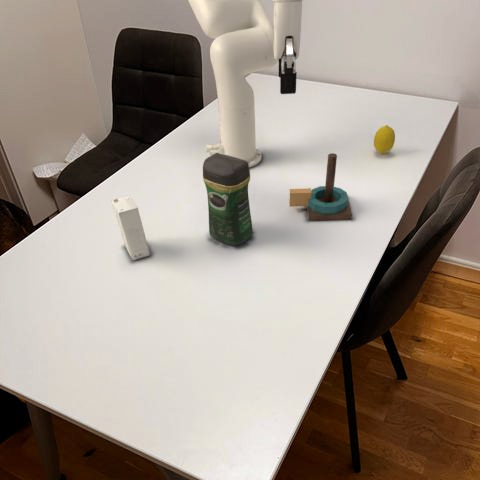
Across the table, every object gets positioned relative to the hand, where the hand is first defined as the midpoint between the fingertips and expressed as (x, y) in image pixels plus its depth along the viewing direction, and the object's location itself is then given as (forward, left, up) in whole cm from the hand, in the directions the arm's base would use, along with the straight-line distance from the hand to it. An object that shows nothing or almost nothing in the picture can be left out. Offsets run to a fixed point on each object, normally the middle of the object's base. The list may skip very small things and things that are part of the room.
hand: (286, 84), depth 100 cm
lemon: (+28, +20, -26) cm, 43 cm away
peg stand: (+10, -7, -26) cm, 29 cm away
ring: (+8, -7, -25) cm, 27 cm away
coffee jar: (-13, -17, -26) cm, 34 cm away
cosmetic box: (-34, -22, -26) cm, 48 cm away
